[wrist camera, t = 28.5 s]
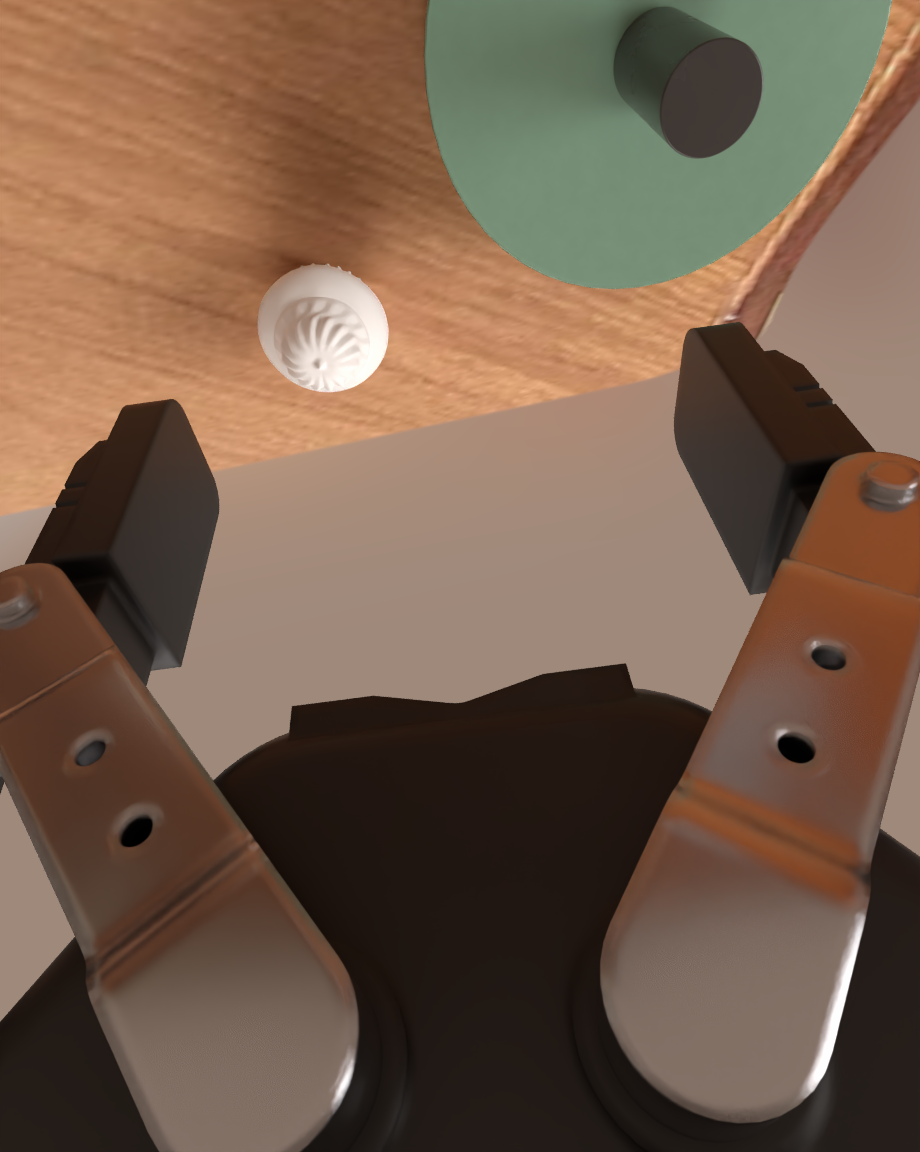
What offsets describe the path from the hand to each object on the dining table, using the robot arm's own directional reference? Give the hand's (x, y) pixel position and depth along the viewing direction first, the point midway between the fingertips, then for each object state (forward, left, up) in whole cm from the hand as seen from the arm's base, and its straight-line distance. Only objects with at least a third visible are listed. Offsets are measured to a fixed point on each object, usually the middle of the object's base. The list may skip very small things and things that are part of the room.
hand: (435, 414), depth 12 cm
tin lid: (+4, +8, -20) cm, 22 cm away
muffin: (+5, -9, -26) cm, 28 cm away
